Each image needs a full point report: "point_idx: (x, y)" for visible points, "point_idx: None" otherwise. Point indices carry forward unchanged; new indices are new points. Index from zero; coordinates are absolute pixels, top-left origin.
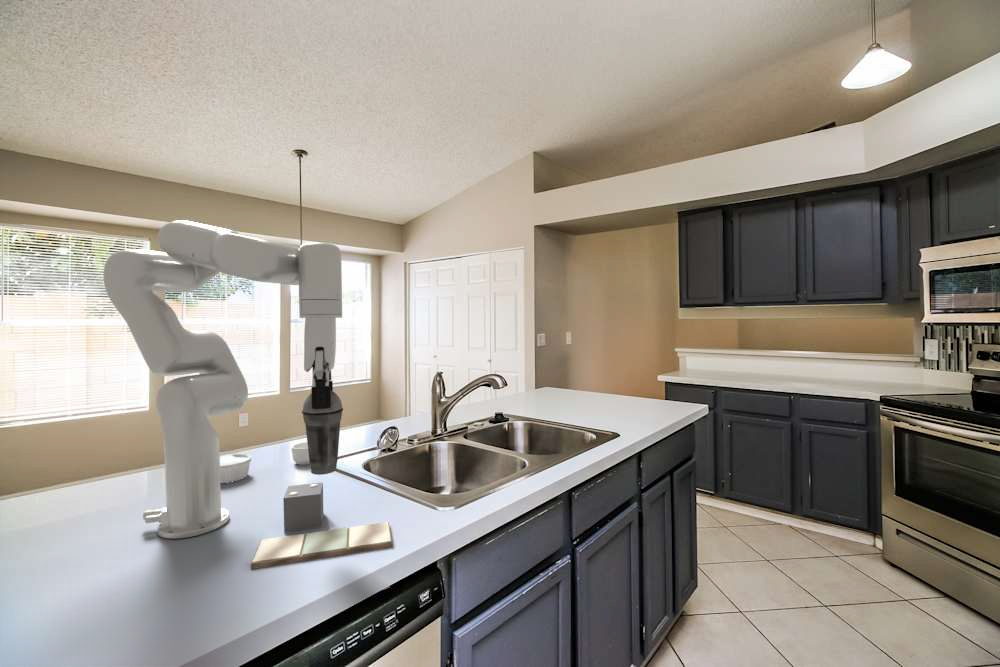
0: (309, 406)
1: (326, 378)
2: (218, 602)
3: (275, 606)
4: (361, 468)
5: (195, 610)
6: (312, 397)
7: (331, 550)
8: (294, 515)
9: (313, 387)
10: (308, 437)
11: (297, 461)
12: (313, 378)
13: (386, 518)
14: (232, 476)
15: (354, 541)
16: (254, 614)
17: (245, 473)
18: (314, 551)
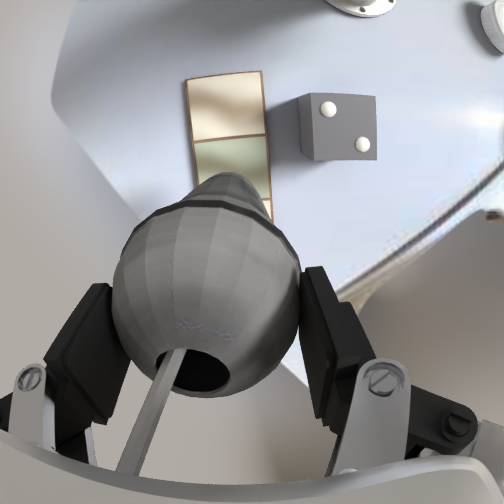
0: (116, 269)
1: (58, 446)
2: (118, 77)
3: (100, 144)
4: (488, 207)
5: (109, 61)
6: (72, 319)
7: (199, 183)
8: (303, 112)
9: (38, 366)
10: (182, 199)
11: None
12: (15, 409)
13: (302, 248)
14: (489, 31)
15: None
16: (91, 128)
17: (499, 48)
18: (199, 160)
